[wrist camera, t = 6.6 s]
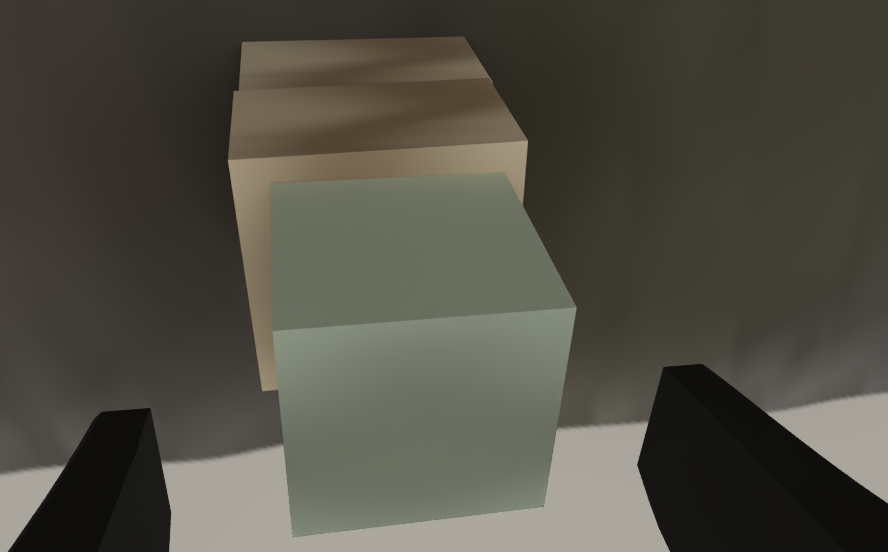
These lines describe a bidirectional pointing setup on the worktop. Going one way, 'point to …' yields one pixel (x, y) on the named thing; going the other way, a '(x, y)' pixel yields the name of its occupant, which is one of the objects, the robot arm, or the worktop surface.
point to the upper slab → (355, 155)
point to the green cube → (414, 349)
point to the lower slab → (356, 62)
